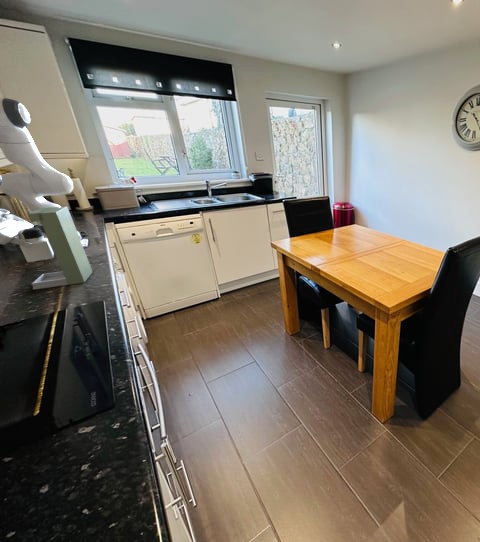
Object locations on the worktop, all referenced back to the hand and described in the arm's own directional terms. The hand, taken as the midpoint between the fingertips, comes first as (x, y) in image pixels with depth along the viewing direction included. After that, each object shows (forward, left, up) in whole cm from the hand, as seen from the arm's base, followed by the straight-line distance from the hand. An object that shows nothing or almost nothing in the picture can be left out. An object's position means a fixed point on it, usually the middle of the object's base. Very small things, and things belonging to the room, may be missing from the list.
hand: (36, 242), depth 110 cm
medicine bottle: (0, -1, -7) cm, 7 cm away
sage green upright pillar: (+2, +4, -16) cm, 17 cm away
